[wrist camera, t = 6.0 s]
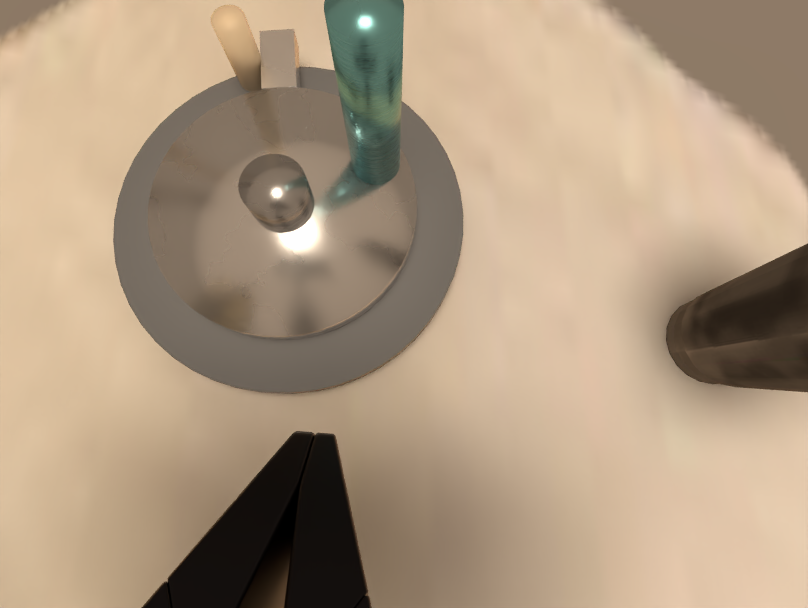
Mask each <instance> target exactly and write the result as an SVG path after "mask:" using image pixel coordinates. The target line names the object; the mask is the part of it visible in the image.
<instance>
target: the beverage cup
mask: <svg viewBox="0 0 808 608" xmlns="http://www.w3.org/2000/svg"><path fill="white" fill-rule="evenodd" d="M666 341H667V345H668V348H669V352H670V354H671V356H672V358H673V359H674V361H675V363H676V364H677V366H678V367H679V368H680V369H682V370H683V371H684V372H685V373H686V374H687V375H688V376H690V377H692V378H694V379H696V380H698V381H700V382H705V383H711V384H723V385H728V386H734V387H743V388H757V389H770V390H784V391H798V392H808V244H806V245H804V246H802V247H800V248H798V249H795V250H793V251H791V252H789V253H787V254H785V255H783V256H781V257H779V258H777V259H775V260H773V261H771V262H769V263H766V264H764V265H762V266H760V267H758V268H756V269H754V270H752V271H750V272H748V273H746V274H744V275H742V276H739V277H737V278H735V279H733V280H731V281H729V282H727V283H725V284H723V285H721V286H719V287H717V288H715V289H712V290H710V291H708V292H706V293H704V294H702V295H700V296H699V297H697V298H696V299H695V300H693V301H691V302H689V303H687V304H685V305H683V306H681V307H679V308H678V310H677V311H676V312H675V313H674V314H673V315H672V316H671V319H670V321H669V324H668V326H667V337H666Z"/></svg>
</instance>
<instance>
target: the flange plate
mask: <svg viewBox="0 0 808 608" xmlns="http://www.w3.org/2000/svg"><path fill="white" fill-rule="evenodd" d="M324 12H325V18H326V23H327V29H328V34H329V40H330V45H331V51H332V57H333V62H334V68H335V73H336V79H337V84H338V90H339V96H340V97H339V96H337V95H334V94H330V93H327V92H323V91H320V90H314V89H307V88H301V86H300V67H299V47H298V43H297V39H296V36H295V32H294V29H287V30H271V31H260V56H261V89H262V90H258V91H253V92H250V93H246V94H243V95H240V96H237V97H235V98H232V99H230V100H228V101H225V102H223V103H221V104H219V105H218V106H216V107H214V108H212V109H211V110H209V111H207V112H206V113H205V114H203V115H202V116H201V117H199V118H198V119H197V120H195V121H194V122H193V123H192V124H191V125H190V126H189V127H188V128H187V129H186V130H184V131H183V132H182V133H181V135H180V136H179V137H178V138H177V139H176V141H175V142H174V143H173V144H172V146H171V147H170V149H169V150H168V152H167V153H166V155H165V157H164V158H163V160H162V162H161V164H160V166H159V168H158V170H157V173H156V175H155V178H154V181H153V184H152V188H151V191H150V197H149V203H148V232H149V240H150V243H151V247H152V251H153V254H154V257H155V259H156V262H157V264H158V266H159V268H160V271H161V272H162V274H163V276H164V277H165V279H166V280H167V282H168V284H169V285H170V286H171V288H172V289H173V290H174V291H175V292H176V293H177V295H178V296H179V297H180V298H181V299H182V300H183V301H184V302H185V303H187V304H188V305H189V306H190V307H191V308H192V309H194V310H195V311H196V312H198V313H199V314H201V315H203V316H204V317H206V318H207V319H209V320H211V321H213V322H215V323H217V324H219V325H222V326H224V327H226V328H228V329H230V330H233V331H235V332H239V333H242V334H245V335H248V336H252V337H258V338H264V339H273V340H291V339H302V338H308V337H312V336H317V335H321V334H324V333H327V332H329V331H332V330H335V329H338V328H340V327H342V326H344V325H346V324H347V323H349V322H351V321H353V320H355V319H356V318H358V317H359V316H361V315H362V314H364V313H365V312H366V311H368V310H369V309H370V308H371V307H372V306H374V305H375V304H376V303H377V302H378V301H379V300H380V299H381V298H382V297H383V296H384V295H385V293H386V292H387V291H388V290H389V289H390V288H391V287H392V285H393V284H394V282H395V280H396V279H397V277H398V276H399V274H400V273H401V271H402V269H403V267H404V265H405V262H406V260H407V258H408V255H409V252H410V249H411V246H412V243H413V238H414V232H415V225H416V217H417V197H416V188H415V183H414V179H413V175H412V171H411V168H410V166H409V163H408V161H407V158H406V156H405V154H404V152H403V151H402V149H401V147H400V143H401V102H402V61H403V21H404V3H403V0H325V3H324Z"/></svg>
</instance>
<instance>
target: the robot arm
mask: <svg viewBox="0 0 808 608" xmlns="http://www.w3.org/2000/svg"><path fill="white" fill-rule="evenodd" d="M142 608H372V607H371V602H370V598H369V596H368V589H367V584H366V579H365V574H364V570H363V565H362V560H361V555H360V550H359V546H358V541H357V536H356V531H355V527H354V522H353V517H352V512H351V507H350V503H349V498H348V493H347V488H346V483H345V479H344V474H343V469H342V464H341V460H340V455H339V450H338V445H337V440H336V437H335V435H334V434H327V433H317V434H316V435H315V434H314V433H312V432H301V431H296V432H294V433H293V434H292V435H291V436H290V437H289V439H288V440H287V441H286V442H285V443H284V444H283V445H282V447H281V448H280V449H279V450H278V451H277V452H276V454H275V455H274V456H273V457H272V458H271V459H270V460H269V462H268V463H267V464H266V465H265V466H264V467H263V469H262V470H261V471H260V472H259V473H258V474H257V475H256V477H255V478H254V479H253V480H252V481H251V482H250V484H249V485H248V486H247V487H246V488H245V489H244V490H243V492H242V493H241V494H240V495H239V496H238V497H237V499H236V500H235V501H234V502H233V503H232V504H231V505H230V507H229V508H228V509H227V510H226V511H225V512H224V514H223V515H222V516H221V517H220V518H219V519H218V520H217V522H216V523H215V524H214V525H213V526H212V527H211V529H210V530H209V531H208V532H207V533H206V534H205V535H204V537H203V538H202V539H201V540H200V541H199V542H198V544H197V545H196V546H195V547H194V548H193V549H192V550H191V552H190V553H189V554H188V555H187V556H186V557H185V559H184V560H183V561H182V562H181V563H180V564H179V565H178V567H177V568H176V569H175V570H174V571H173V572H172V574H171V575H170V576H169V577H168V582H164V583H163V584H162V585H161V586H160V587H159V588H158V589H157V591H156V592H155V593H154V594H153V595H152V596H151V598H150V599H149V600H148V601H147V602H146V603H145V604H144V606H143V607H142Z"/></svg>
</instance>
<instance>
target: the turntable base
mask: <svg viewBox="0 0 808 608" xmlns="http://www.w3.org/2000/svg"><path fill="white" fill-rule="evenodd" d="M211 24H212V26H213V28H214V31H215V33H216V35H217V37H218V39H219V41H220V43H221V45H222V47H223V49H224V51H225V53H226V55H227V57H228V59H229V61H230V63H231V66H232V68H233V70H234V72H235V74H236V77H233V78H230V79H228V80H226V81H223V82H221V83H219V84H216V85H214V86H212V87H210V88H208V89H206V90H205V91H203V92H201V93H199V94H198V95H196V96H194V97H192V98H191V99H190V100H188V101H187V102H186V103H184V104H183V105H182V106H180V107H179V108H177V109H176V110H175V111H174V112H173V113H172V114H171V115H170V116H168V117H167V118H166V119H165V120H164V121H163V122H162V123H161V124H160V125H159V126H158V127H157V129H156V130H155V131H154V132H153V133H152V134H151V136H150V137H149V138H148V139H147V140H146V142H145V143H144V145H143V146H142V148H141V149H140V151H139V152H138V154H137V156H136V157H135V159H134V161H133V163H132V165H131V167H130V169H129V171H128V173H127V175H126V177H125V180H124V183H123V186H122V189H121V192H120V195H119V198H118V203H117V208H116V214H115V219H114V239H113V242H114V252H115V262H116V267H117V271H118V275H119V279H120V283H121V286H122V288H123V291H124V293H125V295H126V298H127V300H128V303H129V305H130V307H131V308H132V310H133V312H134V313H135V315H136V317H137V318H138V320H139V321H140V323H141V325H142V326H143V327H144V328H145V329H146V331H147V332H148V333H149V334H150V335H151V337H152V338H153V339H154V340H155V342H157V343H158V344H159V345H160V346H161V347H162V348H163V349H164V350H165V351H167V352H168V353H169V354H170V355H171V356H172V357H173V358H175V359H176V360H178V361H179V362H181V363H182V364H184V365H185V366H187V367H188V368H190V369H191V370H193V371H195V372H197V373H199V374H201V375H203V376H206V377H208V378H210V379H212V380H214V381H217V382H220V383H223V384H226V385H230V386H233V387H236V388H241V389H247V390H252V391H258V392H269V393H302V392H313V391H319V390H324V389H328V388H332V387H336V386H340V385H343V384H345V383H348V382H351V381H353V380H356V379H359V378H361V377H363V376H365V375H367V374H369V373H371V372H373V371H374V370H376V369H378V368H380V367H382V366H383V365H385V364H386V363H387V362H389V361H390V360H392V359H393V358H394V357H396V356H397V355H399V354H400V353H401V352H402V351H403V350H404V349H405V348H406V347H407V346H409V345H410V344H411V343H412V342H413V341H414V340H415V339H416V338H417V337H418V336H419V334H420V333H421V332H422V331H423V329H424V328H425V327H426V326H427V325H428V323H429V322H430V321H431V319H432V318H433V316H434V314H435V313H436V311H437V310H438V308H439V306H440V305H441V303H442V301H443V299H444V297H445V295H446V292H447V290H448V288H449V286H450V283H451V281H452V279H453V277H454V273H455V270H456V267H457V263H458V260H459V256H460V251H461V244H462V237H463V209H462V201H461V194H460V189H459V186H458V182H457V178H456V175H455V172H454V169H453V167H452V165H451V162H450V160H449V158H448V156H447V153H446V152H445V150H444V148H443V147H442V145H441V143H440V142H439V140H438V138H437V137H436V135H435V134H434V133H433V132H432V130H431V129H430V128H429V127H428V125H427V124H426V123H425V122H424V120H422V119H421V118H420V117H419V116H418V115H417V114H416V113H415V112H414V111H413V110H412V109H411V108H410V107H409V106H408V105H406V104H405V103H404V102H401V143H400V147H401V149H402V151H403V152H404V154H405V156H406V158H407V161H408V163H409V166H410V168H411V171H412V175H413V179H414V183H415V188H416V197H417V217H416V225H415V232H414V238H413V243H412V246H411V249H410V252H409V255H408V258H407V260H406V262H405V265H404V267H403V269H402V271H401V273H400V274H399V276H398V277H397V279H396V280H395V282H394V284H393V285H392V287H391V288H390V289H389V290H388V291H387V292H386V293H385V295H384V296H383V297H382V298H381V299H380V300H379V301H378V302H377V303H376V304H375V305H374V306H372V307H371V308H370V309H369V310H368V311H366V312H365V313H364V314H362V315H361V316H359V317H358V318H356V319H355V320H353V321H351V322H349V323H347V324H346V325H344V326H342V327H340V328H338V329H335V330H332V331H329V332H327V333H324V334H321V335H317V336H312V337H308V338H302V339H291V340H273V339H264V338H258V337H252V336H248V335H245V334H242V333H239V332H235V331H233V330H230V329H228V328H226V327H224V326H222V325H219V324H217V323H215V322H213V321H211V320H209V319H207V318H206V317H204V316H203V315H201V314H199V313H198V312H196V311H195V310H194V309H192V308H191V307H190V306H189V305H188V304H187V303H185V302H184V301H183V300H182V299H181V298H180V297H179V296H178V295H177V293H176V292H175V291H174V290H173V289H172V288H171V286H170V285H169V284H168V282H167V280H166V279H165V277H164V276H163V274H162V272H161V271H160V268H159V266H158V264H157V262H156V259H155V257H154V254H153V251H152V247H151V243H150V240H149V232H148V203H149V197H150V191H151V188H152V184H153V181H154V178H155V175H156V173H157V170H158V168H159V166H160V164H161V162H162V160H163V158H164V157H165V155H166V153H167V152H168V150H169V149H170V147H171V146H172V144H173V143H174V142H175V141H176V139H177V138H178V137H179V136H180V135H181V133H182V132H183V131H184V130H186V129H187V128H188V127H189V126H190V125H191V124H192V123H193V122H194V121H195V120H197V119H198V118H199V117H201V116H202V115H203V114H205V113H206V112H207V111H209V110H211V109H212V108H214V107H216V106H218V105H219V104H221V103H223V102H225V101H228V100H230V99H232V98H235V97H237V96H240V95H243V94H246V93H250V92H253V91H258V90H262V89H261V56H260V53H259V50H258V48H257V45H256V43H255V40H254V37H253V35H252V32H251V30H250V27H249V25H248V22H247V19H246V17H245V14H244V12H243V11H242V10H241V9H240V8H239V7H237V6H234V5H224V6H221V7H219V8H217V9H216V10H215V11H214V12H213V14H212V16H211ZM300 86H301V88H307V89H314V90H320V91H323V92H327V93H330V94H334V95H337V96H339V90H338V84H337V79H336V73H335V71H334V70H327V69H321V68H314V67H300ZM339 97H340V96H339Z"/></svg>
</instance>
